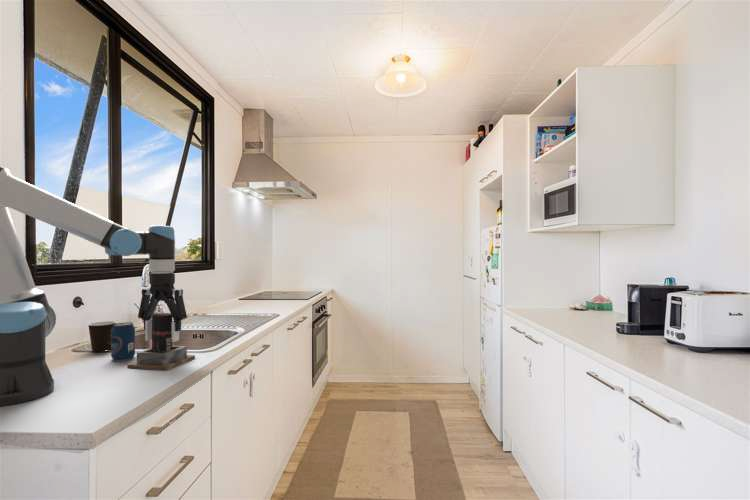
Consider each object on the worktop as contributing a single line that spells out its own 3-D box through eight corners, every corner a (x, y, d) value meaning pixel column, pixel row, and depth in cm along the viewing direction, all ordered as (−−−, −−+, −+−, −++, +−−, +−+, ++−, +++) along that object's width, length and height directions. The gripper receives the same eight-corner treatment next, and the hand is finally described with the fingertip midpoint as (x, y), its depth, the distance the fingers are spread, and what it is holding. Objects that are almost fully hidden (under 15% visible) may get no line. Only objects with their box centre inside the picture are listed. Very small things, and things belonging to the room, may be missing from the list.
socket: (166, 370, 124) (166, 356, 124) (127, 367, 127) (127, 353, 127) (194, 358, 138) (194, 345, 138) (159, 356, 140) (159, 343, 140)
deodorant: (165, 362, 129) (166, 316, 129) (147, 362, 129) (148, 315, 129) (175, 357, 135) (175, 313, 135) (158, 357, 135) (158, 312, 135)
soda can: (106, 360, 135) (106, 325, 135) (124, 355, 142) (124, 321, 142) (121, 362, 133) (121, 326, 133) (139, 356, 140) (139, 322, 139)
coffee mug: (102, 353, 144) (102, 326, 144) (82, 352, 146) (82, 325, 146) (128, 345, 155) (128, 320, 155) (109, 344, 157) (109, 319, 157)
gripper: (198, 272, 134) (199, 339, 134) (142, 271, 138) (142, 336, 138) (184, 273, 126) (184, 344, 126) (124, 272, 130) (124, 341, 130)
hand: (162, 340), depth 132 cm, fingers open, 9 cm apart
